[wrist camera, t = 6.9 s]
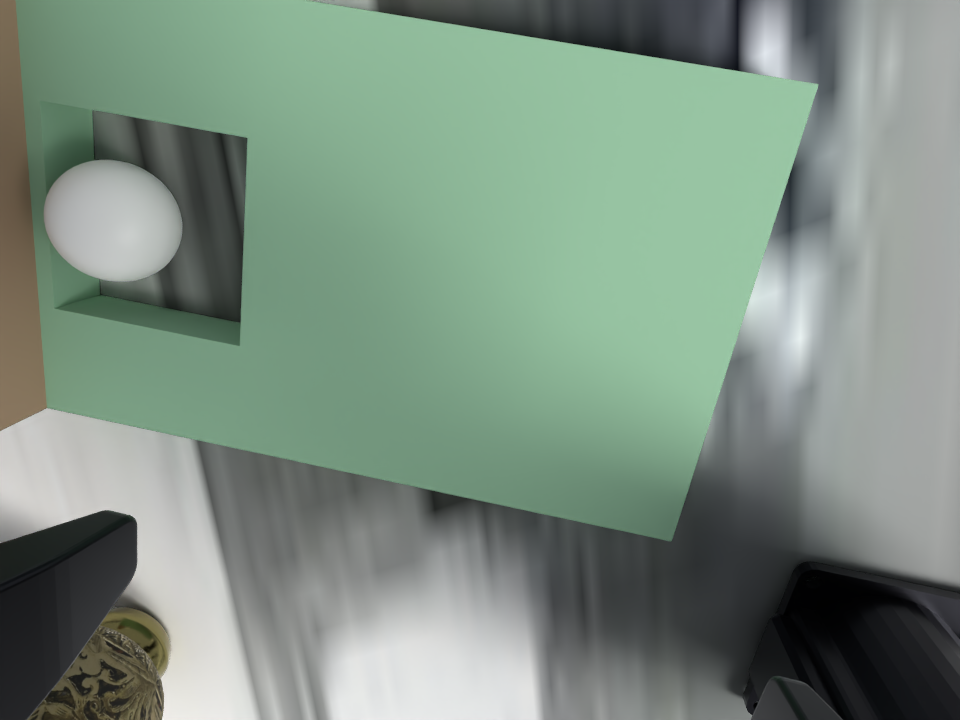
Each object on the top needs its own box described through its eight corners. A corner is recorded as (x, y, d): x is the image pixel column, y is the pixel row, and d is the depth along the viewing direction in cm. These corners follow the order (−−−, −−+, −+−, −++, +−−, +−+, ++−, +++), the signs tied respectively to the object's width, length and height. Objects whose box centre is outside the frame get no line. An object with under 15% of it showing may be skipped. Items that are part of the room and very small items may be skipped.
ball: (155, 164, 20) (194, 161, 18) (166, 272, 21) (205, 284, 18) (24, 157, 18) (48, 153, 15) (42, 278, 19) (68, 294, 16)
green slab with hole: (788, 92, 16) (868, 70, 12) (661, 506, 21) (687, 597, 16) (21, -35, 18) (-147, -94, 14) (51, 378, 22) (-70, 430, 18)
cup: (34, 554, 25) (-195, 727, 17) (205, 564, 24) (41, 752, 16) (77, 697, 27) (-109, 905, 20) (234, 711, 26) (102, 935, 19)
